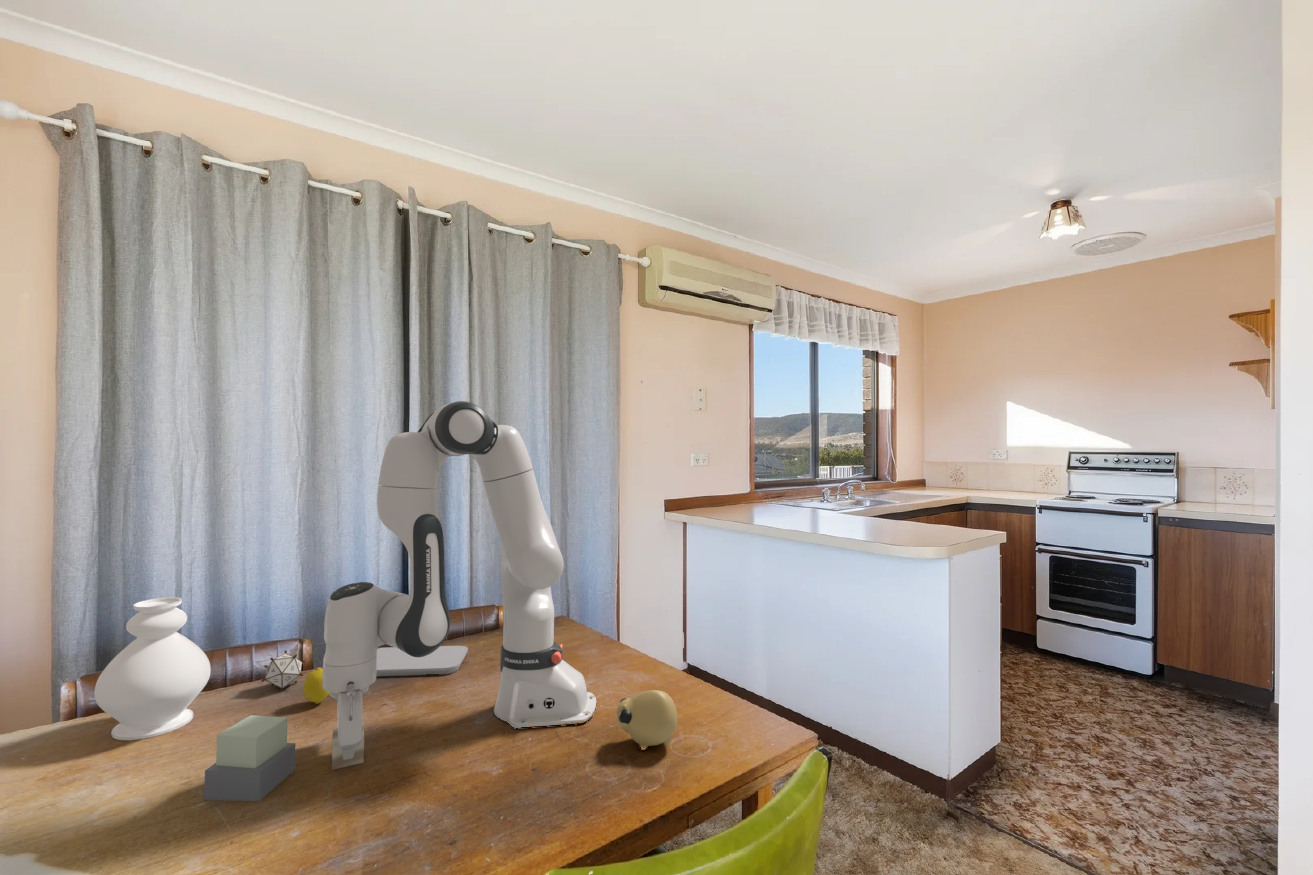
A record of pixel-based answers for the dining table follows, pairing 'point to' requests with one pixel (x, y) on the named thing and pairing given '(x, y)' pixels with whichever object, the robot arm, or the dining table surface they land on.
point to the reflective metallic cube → (338, 753)
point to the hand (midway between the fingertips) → (347, 749)
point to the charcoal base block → (249, 778)
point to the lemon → (315, 686)
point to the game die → (283, 670)
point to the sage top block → (251, 741)
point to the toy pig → (648, 717)
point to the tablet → (419, 661)
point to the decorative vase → (153, 674)
